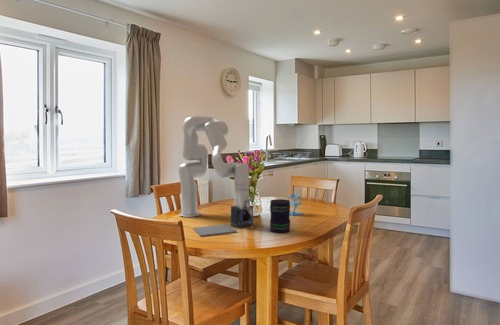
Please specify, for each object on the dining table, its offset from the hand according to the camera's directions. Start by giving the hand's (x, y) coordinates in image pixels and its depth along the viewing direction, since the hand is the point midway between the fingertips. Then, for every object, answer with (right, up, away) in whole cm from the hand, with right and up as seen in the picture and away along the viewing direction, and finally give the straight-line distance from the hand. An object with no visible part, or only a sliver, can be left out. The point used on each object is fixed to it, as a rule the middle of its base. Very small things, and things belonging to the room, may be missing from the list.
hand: (242, 219), depth 190 cm
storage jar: (+19, -4, -11) cm, 22 cm away
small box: (0, -4, 0) cm, 4 cm away
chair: (+30, -1, +25) cm, 40 cm away
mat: (-14, -4, -10) cm, 17 cm away
